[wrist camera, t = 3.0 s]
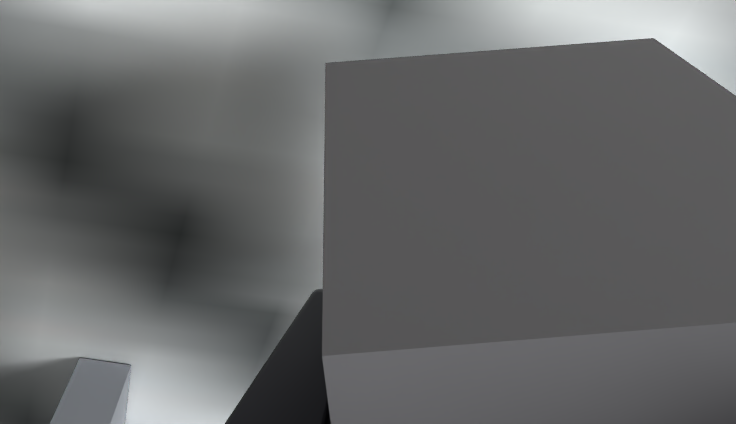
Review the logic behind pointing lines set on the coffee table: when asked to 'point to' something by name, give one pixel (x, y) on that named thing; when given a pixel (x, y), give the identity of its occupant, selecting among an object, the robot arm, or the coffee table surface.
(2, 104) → the coffee table surface
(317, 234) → the coffee table surface
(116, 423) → the gray rectangular panel
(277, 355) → the robot arm
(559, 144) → the grey rectangular block
